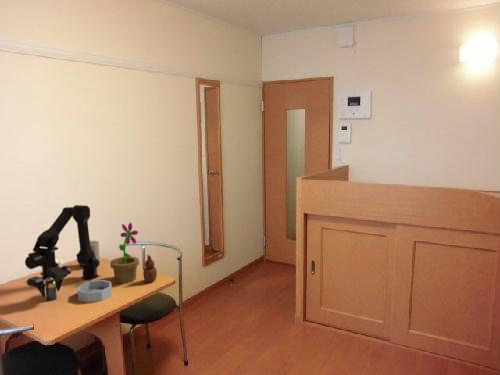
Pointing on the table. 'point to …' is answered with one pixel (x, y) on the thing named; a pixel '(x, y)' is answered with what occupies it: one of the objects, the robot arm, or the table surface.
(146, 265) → the wooden figurine
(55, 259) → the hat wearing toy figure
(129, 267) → the flowerpot
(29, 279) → the robot arm
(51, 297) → the battery cell
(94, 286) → the ceramic bowl
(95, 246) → the pillar candle
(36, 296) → the table surface
